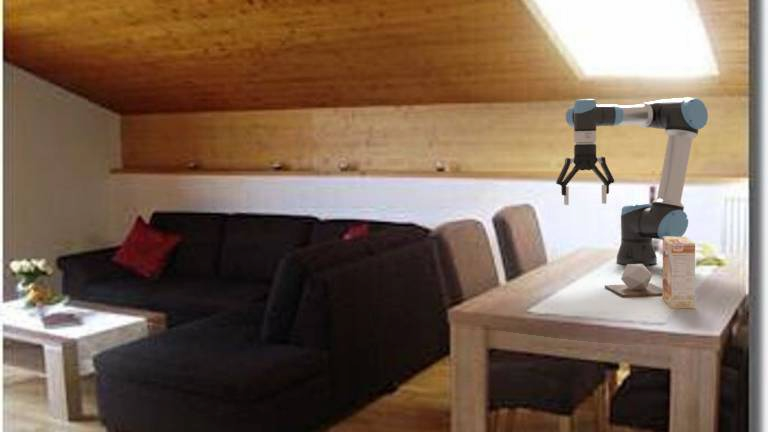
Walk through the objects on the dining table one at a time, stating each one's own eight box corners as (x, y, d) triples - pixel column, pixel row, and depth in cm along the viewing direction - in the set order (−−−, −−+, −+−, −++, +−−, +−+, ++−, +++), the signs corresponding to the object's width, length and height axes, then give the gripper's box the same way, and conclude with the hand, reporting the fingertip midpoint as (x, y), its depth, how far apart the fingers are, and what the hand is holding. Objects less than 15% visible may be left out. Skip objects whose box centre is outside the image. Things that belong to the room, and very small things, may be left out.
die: (647, 294, 257) (659, 267, 259) (622, 281, 258) (635, 254, 260) (637, 298, 265) (649, 272, 268) (613, 285, 266) (625, 259, 268)
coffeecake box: (661, 297, 253) (662, 236, 251) (685, 298, 251) (686, 236, 249) (669, 308, 238) (670, 243, 236) (695, 308, 237) (696, 242, 235)
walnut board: (651, 285, 272) (651, 283, 272) (671, 295, 256) (671, 292, 256) (604, 287, 270) (604, 285, 270) (622, 297, 255) (622, 294, 254)
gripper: (553, 144, 277) (553, 206, 280) (623, 142, 279) (623, 203, 282) (547, 144, 285) (547, 204, 287) (615, 142, 287) (615, 201, 289)
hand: (585, 204), depth 284 cm, fingers open, 13 cm apart
